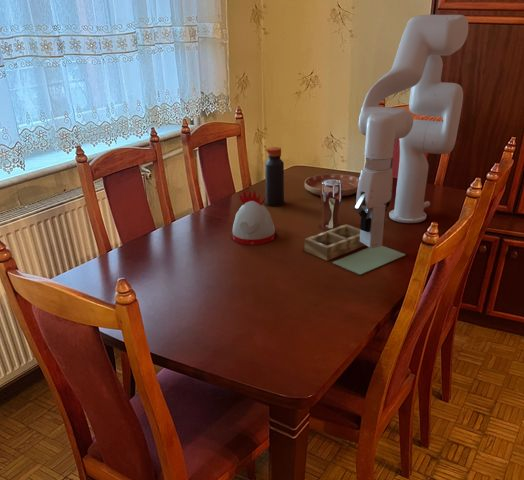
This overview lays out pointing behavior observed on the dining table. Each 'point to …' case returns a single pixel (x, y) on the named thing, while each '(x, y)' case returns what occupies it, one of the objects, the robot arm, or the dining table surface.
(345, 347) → the dining table surface
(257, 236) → the kitchen timer
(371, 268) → the placemat
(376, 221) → the cosmetic box
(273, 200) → the bottle
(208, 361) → the dining table surface
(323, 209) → the beer glass
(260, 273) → the dining table surface
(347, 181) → the shallow brown bowl
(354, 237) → the rack
